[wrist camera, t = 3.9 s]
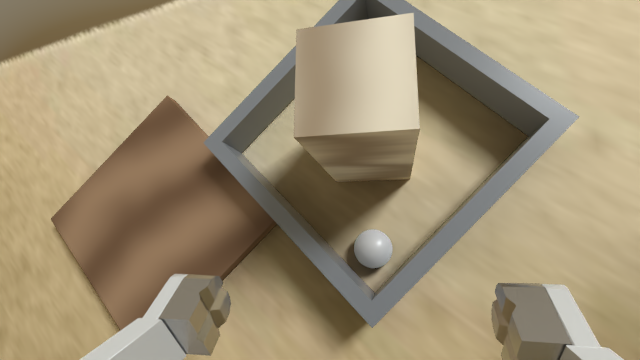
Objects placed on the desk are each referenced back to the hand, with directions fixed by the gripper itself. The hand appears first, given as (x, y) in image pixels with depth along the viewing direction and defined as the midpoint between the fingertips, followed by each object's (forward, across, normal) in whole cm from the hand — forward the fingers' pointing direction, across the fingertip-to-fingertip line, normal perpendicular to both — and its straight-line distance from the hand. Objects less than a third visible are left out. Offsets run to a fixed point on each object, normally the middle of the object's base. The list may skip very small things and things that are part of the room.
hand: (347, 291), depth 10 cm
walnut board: (+11, +16, +6) cm, 21 cm away
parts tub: (+14, 0, +3) cm, 15 cm away
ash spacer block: (+14, 0, +3) cm, 15 cm away
